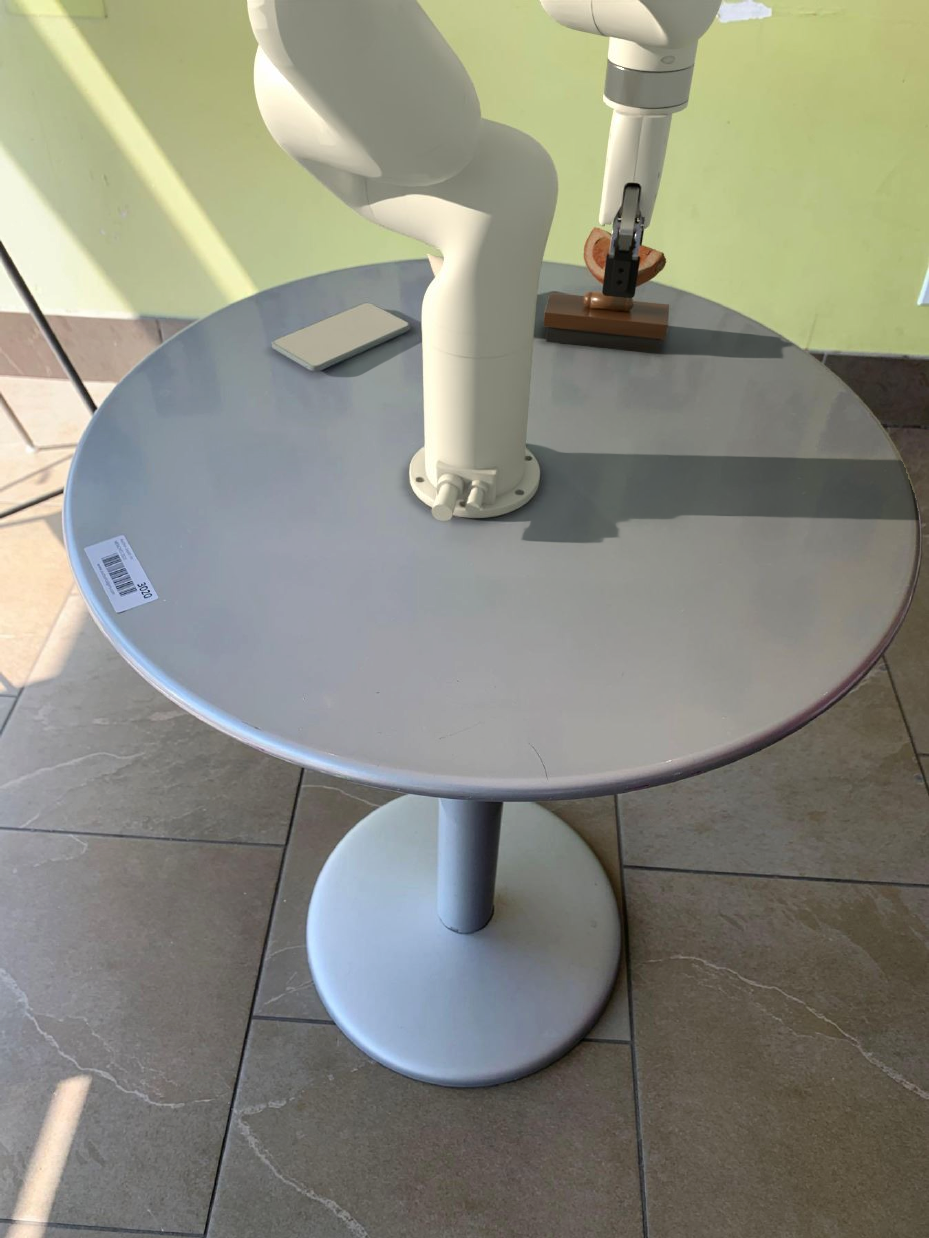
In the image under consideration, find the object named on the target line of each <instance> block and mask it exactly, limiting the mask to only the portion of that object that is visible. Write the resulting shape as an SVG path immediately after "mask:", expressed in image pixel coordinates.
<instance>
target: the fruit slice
mask: <svg viewBox="0 0 929 1238" xmlns="http://www.w3.org/2000/svg"><path fill="white" fill-rule="evenodd" d="M611 237H612V232H611V233H610V232H609V231H607V230H604V229H602V228H600V227H593V228H592V230H591V231H590V232H589V235H588V237H587V238H586V240H585V243H584V246H583V261H584V263H585V266H586V268H587V269H588V271H589V272H590V274H591V275H592V276H593V277H594V279H596V280H597V281H598V282H599V283H601V284H602V285H603V281H604V273H605V265H606V257H607V254H609V251H610V244H611ZM632 256H633V255H632ZM638 256H640V263H639V270H638V276H637V283H636V288H637V287H640V286H641V285H643V284H646V283H647V282H649V281H651V280H652V279H654V278H655V277H656V276H657V275H658V274H659V273H660V272H661V271H663V270H664V268H665V267H666V264H667V258H666V256H665V253H664V252H662V251H660V250H656V249H655V248H651V247H649V246H646V245H643V244H642V245H639V252H638Z"/></svg>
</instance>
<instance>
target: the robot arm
mask: <svg viewBox="0 0 929 1238" xmlns="http://www.w3.org/2000/svg"><path fill="white" fill-rule="evenodd" d="M722 1H723V0H539V2H540V5H541V6H542V9H543V11H544V12H545V13H546V14H547V15H548V16H549V17H550V19H552V20H553V21H554V22H555V23H557V24H559V25H561V26H562V27H565V28H567V29H571V30H572V31H573V30H574V31H579V32H581V33H587V34H592V35H597V36H601V37H605V38H609V42H608V51H607V59H606V69H605V80H604V86H603V95H602V96H603V97H602V101H603V103H604V104H605V105H606V106H607V107H609V108H611V109H613V110H612V116H611V122H610V128H609V134H608V142H607V148H606V149H607V150H606V157H605V165H604V173H603V174H604V175H603V182H602V192H601V199H600V206H599V213H598V214H599V216H598V223H599V224H600V226H601V227H605V226H606V225H612V228H611V234H612V237H611V244H610V251H609V254H607V257H606V265H605V273H604V281H603V284H602V289H601V293H603V295H605V296H613V297H623V298H632V299H633V298H634V297H635V295H636V289H637V287H636V283H637V276H638V270H639V263H640V256H638V252H639V245H643V239H644V232H645V230H646V229H647V228H649V227H650V226H651V220H652V217H653V213H654V210H655V207H656V201H657V197H658V194H659V190H660V184H661V180H662V175H663V170H664V165H665V160H666V156H667V155H666V154H667V148H668V142H669V137H670V131H671V125H672V119H673V114H676V113H679V112H682V111H684V110H685V109H686V108H687V107H688V105H689V100H690V94H691V93H690V92H691V87H692V82H693V75H694V69H695V64H696V56H697V50H698V45H699V40H700V39H701V38H702V37H703V36H704V35H705V34H706V32H708V30H709V29H710V27H711V26H712V25H713V23H714V21H715V19H716V17H717V15H718V12H719V11H720V8H721V4H722ZM246 5H247V14H248V19H249V23H250V26H251V29H252V33H253V35H254V38H255V40H256V42H257V44H258V45H257V50H256V53H255V57H254V65H253V86H254V93H255V99H256V102H257V107H258V109H259V112H260V115H261V118H262V120H263V123H264V125H265V126H266V128H267V130H268V133H269V134H270V135H271V137H272V139H273V140H274V141H275V143H276V144H277V145H278V146H279V147H280V148H281V150H282V151H283V152H285V154H287V155H288V156H289V158H291V159H292V160H293V161H294V162H295V163H297V164H298V165H299V166H300V167H301V168H302V169H304V170H305V171H306V172H307V173H308V174H309V175H310V176H312V177H313V178H314V179H315V180H316V181H317V182H318V183H320V184H321V185H322V186H323V187H325V189H326V190H328V191H329V192H330V193H331V194H333V195H334V196H335V197H336V198H337V199H339V200H340V201H341V203H343V204H344V205H346V206H347V207H348V208H349V209H350V210H352V211H353V212H354V213H356V214H357V215H359V216H360V217H362V218H363V219H365V220H366V221H368V222H370V223H372V224H374V225H377V226H378V227H381V228H384V229H386V230H389V231H391V232H393V233H397V234H400V235H402V236H405V237H407V238H411V239H413V240H416V241H419V242H420V243H424V244H425V245H428V246H429V247H432V248H435V249H436V250H438V251H440V252H441V254H442V255H443V258H444V263H443V266H442V268H441V270H440V272H439V273H438V274H437V276H436V277H435V276H434V278H433V280H431V282H430V284H429V285H428V286H427V288H426V291H425V293H424V296H423V301H422V305H421V342H422V344H421V345H422V346H421V347H422V381H423V382H422V383H423V385H422V386H423V387H422V389H423V426H424V428H423V429H424V431H423V432H424V445H423V446H422V447H421V448H420V449H419V450H418V451H417V452H416V453H415V454H414V456H413V457H412V459H411V461H410V464H409V471H408V472H409V473H408V475H409V484H410V486H411V489H412V491H413V492H414V495H416V496H417V498H418V499H419V500H420V501H422V502H423V503H424V504H425V505H426V506H428V507H430V508H431V516H432V517H433V519H436V520H437V521H440V522H449V521H450V520H451V519H452V518H453V517H459V518H466V519H487V518H492V517H499V516H502V515H505V514H509V513H511V512H513V511H516V510H517V509H519V508H521V507H523V506H524V505H526V504H527V503H528V502H530V500H531V499H532V498H533V497H535V494H536V492H537V491H538V489H539V486H540V479H541V478H540V477H541V468H540V465H539V462H538V460H537V459H536V457H535V455H534V454H533V453H532V452H531V451H530V450H529V449H528V448H527V446H526V445H527V434H528V433H527V432H528V421H529V420H528V419H529V405H530V394H531V392H530V391H531V381H532V380H531V378H532V365H533V351H534V350H533V349H534V335H535V326H536V325H535V324H536V313H537V312H536V311H537V300H538V291H539V284H540V276H541V270H542V266H543V262H544V261H543V260H544V256H545V251H546V247H547V244H548V239H549V236H550V232H551V228H552V225H553V221H554V217H555V213H556V209H557V204H558V198H559V197H558V196H559V176H558V171H557V168H556V167H557V166H556V164H555V162H554V160H553V158H552V156H551V155H550V153H549V152H548V150H547V149H546V148H545V147H544V146H543V145H542V144H541V143H540V142H539V141H538V140H537V139H535V138H534V137H532V136H531V135H529V134H528V133H525V132H524V131H522V130H520V129H518V128H515V127H513V126H510V125H507V124H505V123H502V122H498V121H494V120H491V119H487V118H484V117H482V110H481V104H480V99H479V96H478V94H477V90H476V87H475V85H474V82H473V80H472V78H471V76H470V74H469V72H468V71H467V69H466V67H465V65H464V63H463V62H462V60H461V59H460V58H459V56H458V54H457V53H456V52H455V51H454V49H453V48H452V47H451V46H450V43H448V41H447V39H445V37H444V36H443V34H442V33H441V32H440V30H439V29H438V27H437V26H436V25H435V23H434V21H432V19H431V17H429V16H428V14H427V13H426V11H425V10H424V8H423V7H422V5H421V4H420V2H419V1H418V0H246ZM632 255H633V256H632Z"/></svg>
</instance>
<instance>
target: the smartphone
mask: <svg viewBox="0 0 929 1238" xmlns="http://www.w3.org/2000/svg"><path fill="white" fill-rule="evenodd" d="M410 330H411V324H410V323H409V322H408V321H407V320H404V319H402V318H400V317H399V316H397V315H394V314H393V313H391V312H389V311H386V310H385V309H383V308H381V307H379V306H377V305H376V304H373V303H371V302H362V303H359V304H357V305H355V306H352V307H350V308H347V309H344V310H343V311H340V312H337V313H335V314H333V315H329V316H328V317H325V318H323V319H321V320H318V321H316V322H313V323H310V324H308V325H306V326H304V327H301V328H299V329H296V330H294V331H292V332H289V333H287V334H284V335H282V336H279V337H277V338H275V339H273V340H272V341H271V348H272V349H274V350H275V351H277V352H278V353H280V354H282V355H284V356H285V357H287V358H289V359H290V360H292V361H294V362H295V363H297V364H299V365H300V366H302V367H304V368H305V369H307V370H308V371H310V372H313V373H314V372H315V373H316V372H317V373H318V372H320V371H323V370H325V369H328V368H330V367H331V366H334V365H337V364H339V363H341V362H342V361H346V360H347V359H350V358H352V357H354V356H356V355H359V354H361V353H363V352H365V351H368V350H371V349H373V348H374V347H376V346H379V345H380V344H384V343H386V342H387V341H389V340H391V339H394V338H396V337H399V336H401V335H403V334H405V333H407V332H409V331H410Z"/></svg>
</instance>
